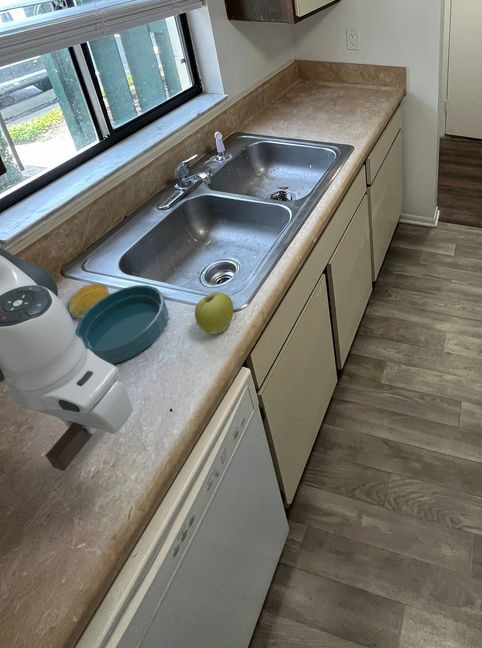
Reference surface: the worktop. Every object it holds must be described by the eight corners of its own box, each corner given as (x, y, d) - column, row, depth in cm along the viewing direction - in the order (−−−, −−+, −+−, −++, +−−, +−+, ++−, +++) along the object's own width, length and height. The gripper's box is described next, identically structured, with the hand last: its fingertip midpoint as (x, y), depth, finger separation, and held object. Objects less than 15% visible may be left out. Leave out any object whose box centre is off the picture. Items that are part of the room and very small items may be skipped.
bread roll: (105, 284, 113) (101, 273, 111) (114, 305, 107) (110, 293, 105) (67, 303, 108) (62, 291, 106) (75, 326, 102) (69, 314, 100)
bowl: (71, 377, 91) (62, 361, 89) (96, 310, 106) (89, 296, 104) (162, 352, 96) (156, 337, 94) (173, 292, 110) (168, 277, 108)
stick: (64, 471, 70) (56, 458, 68) (53, 467, 70) (45, 455, 69) (119, 401, 79) (113, 389, 78) (109, 399, 80) (103, 386, 78)
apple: (239, 330, 99) (217, 303, 94) (206, 345, 98) (182, 319, 94) (242, 302, 106) (221, 276, 101) (211, 316, 105) (189, 290, 101)
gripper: (-17, 379, 67) (17, 430, 73) (92, 410, 63) (119, 462, 69) (23, 342, 73) (52, 393, 79) (126, 369, 69) (149, 421, 75)
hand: (84, 426), depth 74 cm, fingers closed on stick, 2 cm apart
